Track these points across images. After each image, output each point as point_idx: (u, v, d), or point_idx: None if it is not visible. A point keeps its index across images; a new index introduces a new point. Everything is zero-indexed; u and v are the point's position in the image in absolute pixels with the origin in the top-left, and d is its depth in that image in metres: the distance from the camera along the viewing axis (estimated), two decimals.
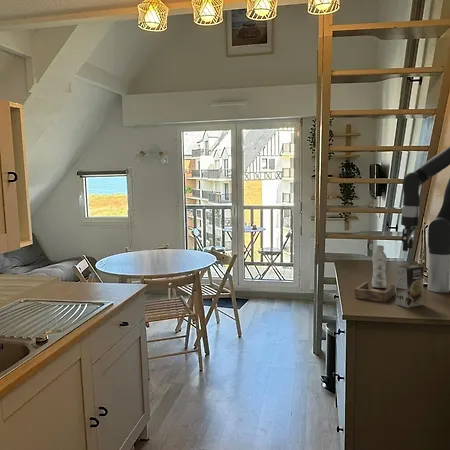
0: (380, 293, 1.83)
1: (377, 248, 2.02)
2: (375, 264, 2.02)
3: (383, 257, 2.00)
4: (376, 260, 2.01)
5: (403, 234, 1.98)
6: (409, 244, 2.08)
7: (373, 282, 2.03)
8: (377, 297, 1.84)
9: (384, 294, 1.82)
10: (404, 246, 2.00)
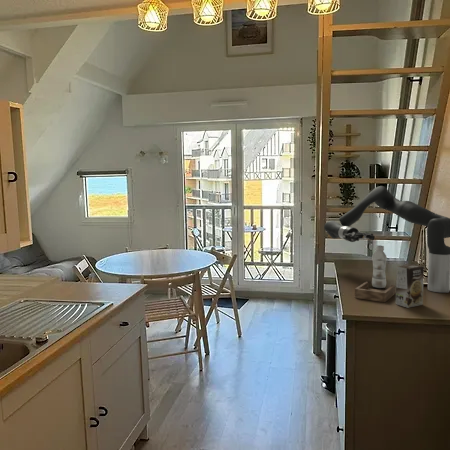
0: (380, 293, 1.83)
1: (377, 248, 2.02)
2: (375, 264, 2.02)
3: (383, 257, 2.00)
4: (376, 260, 2.01)
5: (344, 238, 2.19)
6: (370, 237, 2.16)
7: (373, 282, 2.03)
8: (377, 297, 1.84)
9: (384, 294, 1.82)
10: (354, 238, 2.14)
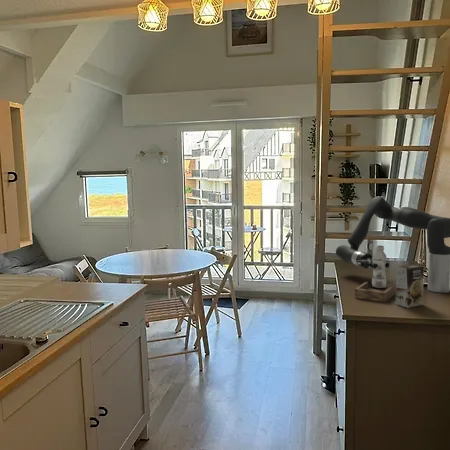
0: (380, 293, 1.83)
1: (377, 248, 2.02)
2: None
3: (383, 257, 2.00)
4: (376, 260, 2.01)
5: (360, 265, 2.07)
6: None
7: (373, 282, 2.03)
8: (377, 297, 1.84)
9: (384, 294, 1.82)
10: (371, 266, 2.02)
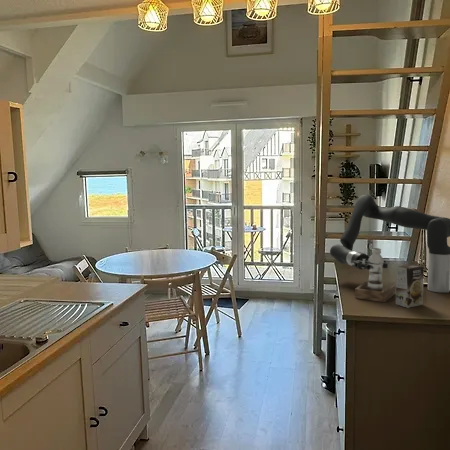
0: (380, 293, 1.83)
1: (374, 251, 1.88)
2: (371, 268, 1.89)
3: (380, 261, 1.87)
4: (372, 264, 1.88)
5: (354, 265, 1.94)
6: (383, 265, 1.91)
7: (369, 287, 1.90)
8: (377, 297, 1.84)
9: (384, 294, 1.82)
10: (364, 267, 1.89)
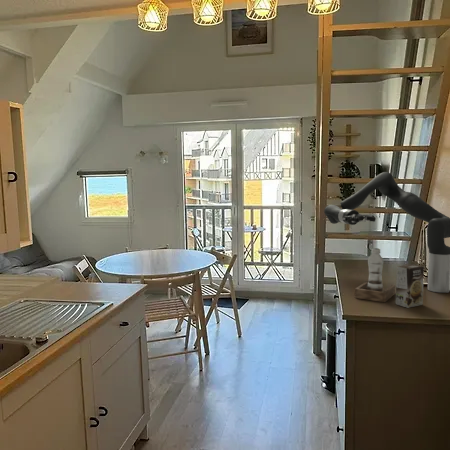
0: (380, 293, 1.83)
1: (373, 251, 1.89)
2: (370, 268, 1.89)
3: (379, 261, 1.87)
4: (372, 264, 1.88)
5: (344, 220, 2.12)
6: (371, 219, 2.08)
7: (369, 287, 1.90)
8: (377, 297, 1.84)
9: (384, 294, 1.82)
10: (354, 220, 2.06)
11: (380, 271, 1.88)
